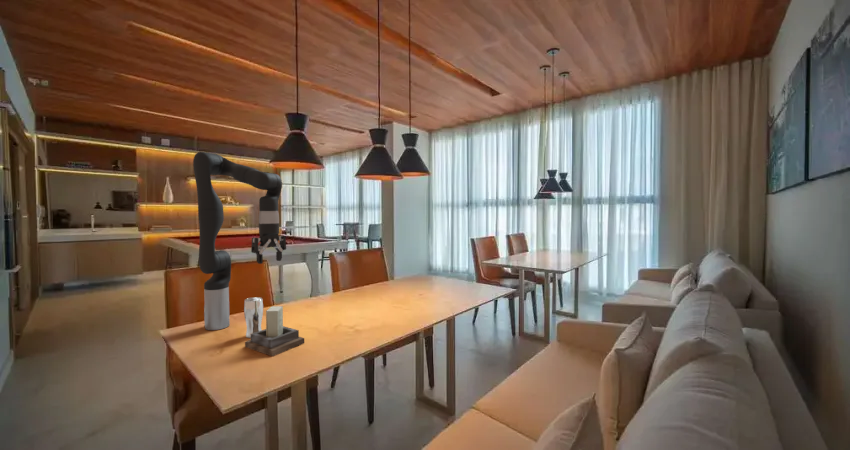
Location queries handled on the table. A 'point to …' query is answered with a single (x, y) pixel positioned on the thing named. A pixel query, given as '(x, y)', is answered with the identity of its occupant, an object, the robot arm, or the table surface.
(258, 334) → the pocket stand
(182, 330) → the table surface
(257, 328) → the beer glass
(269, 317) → the skincare box
